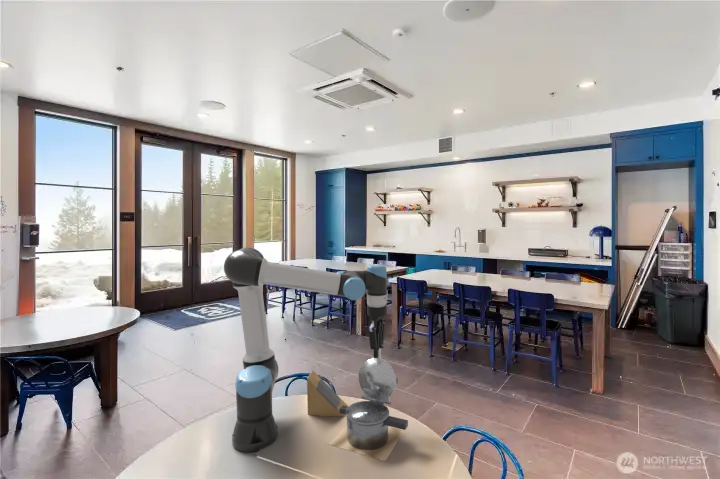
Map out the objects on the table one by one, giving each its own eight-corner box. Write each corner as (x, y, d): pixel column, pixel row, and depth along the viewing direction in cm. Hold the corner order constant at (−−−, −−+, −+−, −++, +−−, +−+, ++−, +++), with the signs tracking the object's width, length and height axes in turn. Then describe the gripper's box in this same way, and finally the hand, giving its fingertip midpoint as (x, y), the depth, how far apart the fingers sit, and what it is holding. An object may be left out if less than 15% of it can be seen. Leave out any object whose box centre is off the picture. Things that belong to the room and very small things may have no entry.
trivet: (328, 446, 122) (328, 444, 122) (353, 419, 138) (353, 417, 138) (385, 463, 113) (385, 461, 113) (404, 432, 129) (404, 430, 129)
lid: (359, 355, 136) (362, 354, 138) (357, 397, 135) (360, 395, 137) (396, 361, 129) (399, 360, 132) (394, 406, 128) (397, 403, 131)
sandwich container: (347, 418, 139) (346, 379, 138) (307, 416, 140) (306, 378, 139) (350, 407, 147) (349, 370, 146) (312, 405, 149) (312, 369, 148)
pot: (331, 441, 123) (330, 415, 123) (352, 418, 137) (351, 395, 137) (399, 461, 113) (398, 433, 112) (414, 434, 127) (414, 408, 127)
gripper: (379, 310, 134) (379, 373, 135) (392, 302, 146) (392, 360, 147) (360, 307, 137) (361, 369, 139) (374, 300, 149) (374, 357, 150)
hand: (377, 365), depth 143 cm, fingers closed
